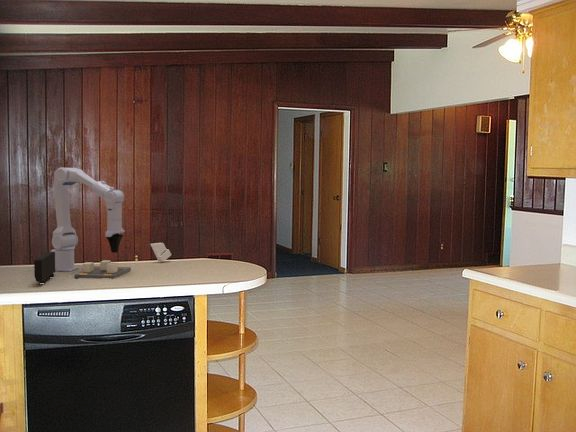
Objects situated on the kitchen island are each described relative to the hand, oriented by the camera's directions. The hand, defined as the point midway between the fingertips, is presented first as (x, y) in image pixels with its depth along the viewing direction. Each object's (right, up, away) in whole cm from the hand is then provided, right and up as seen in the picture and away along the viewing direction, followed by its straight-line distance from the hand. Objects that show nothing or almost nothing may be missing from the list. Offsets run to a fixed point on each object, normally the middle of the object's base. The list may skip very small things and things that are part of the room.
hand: (114, 252), depth 235 cm
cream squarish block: (0, -8, -3) cm, 8 cm away
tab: (-5, -7, +3) cm, 9 cm away
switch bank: (-5, -9, +1) cm, 11 cm away
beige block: (-10, -8, -2) cm, 13 cm away
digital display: (-23, -10, -14) cm, 29 cm away
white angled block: (+11, -7, +36) cm, 38 cm away
